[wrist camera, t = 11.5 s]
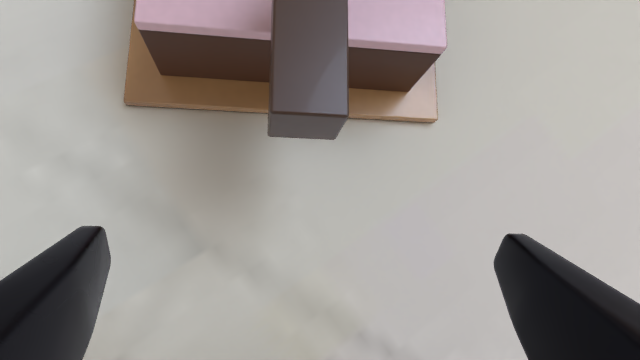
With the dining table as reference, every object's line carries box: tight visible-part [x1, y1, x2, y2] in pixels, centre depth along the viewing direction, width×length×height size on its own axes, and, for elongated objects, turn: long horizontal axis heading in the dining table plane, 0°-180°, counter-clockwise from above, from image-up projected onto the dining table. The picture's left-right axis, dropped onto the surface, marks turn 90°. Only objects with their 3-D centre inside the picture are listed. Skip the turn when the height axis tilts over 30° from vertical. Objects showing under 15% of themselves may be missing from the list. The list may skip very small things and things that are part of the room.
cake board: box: [124, 0, 438, 122], centre depth 22 cm, size 11×15×1 cm
